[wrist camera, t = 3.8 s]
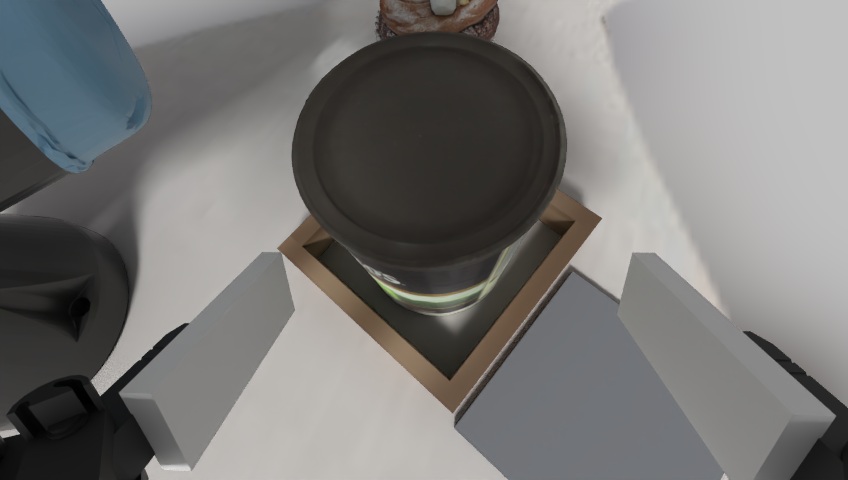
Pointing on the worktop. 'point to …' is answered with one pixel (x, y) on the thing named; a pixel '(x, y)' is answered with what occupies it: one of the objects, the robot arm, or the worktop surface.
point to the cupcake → (437, 17)
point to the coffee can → (430, 163)
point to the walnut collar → (451, 391)
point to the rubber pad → (583, 402)
